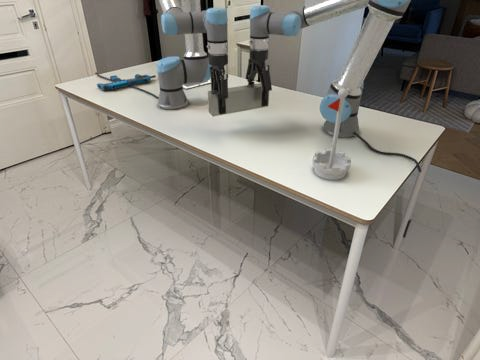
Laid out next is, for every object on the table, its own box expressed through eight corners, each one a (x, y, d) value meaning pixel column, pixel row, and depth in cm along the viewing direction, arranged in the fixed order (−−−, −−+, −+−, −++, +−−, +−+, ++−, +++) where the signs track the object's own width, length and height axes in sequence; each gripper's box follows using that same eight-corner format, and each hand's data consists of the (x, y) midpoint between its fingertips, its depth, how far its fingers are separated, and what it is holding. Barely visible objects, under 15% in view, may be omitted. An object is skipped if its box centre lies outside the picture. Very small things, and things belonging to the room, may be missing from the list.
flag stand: (334, 159, 128) (348, 80, 112) (356, 176, 118) (375, 92, 101) (304, 166, 124) (314, 84, 108) (324, 184, 114) (338, 97, 97)
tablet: (158, 77, 218) (158, 76, 218) (185, 71, 229) (185, 70, 229) (186, 89, 198) (186, 88, 197) (213, 82, 209) (213, 81, 208)
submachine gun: (141, 68, 224) (160, 74, 207) (142, 74, 226) (160, 81, 209) (89, 78, 206) (105, 86, 189) (91, 85, 207) (106, 93, 191)
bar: (263, 103, 152) (264, 82, 147) (268, 106, 148) (269, 85, 143) (208, 112, 143) (207, 91, 138) (213, 116, 139) (211, 94, 134)
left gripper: (200, 49, 135) (204, 105, 147) (217, 59, 121) (219, 120, 134) (218, 48, 137) (220, 103, 150) (236, 57, 124) (237, 117, 137)
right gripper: (237, 44, 143) (238, 93, 155) (265, 56, 125) (263, 111, 137) (253, 42, 146) (252, 91, 158) (282, 54, 128) (279, 108, 140)
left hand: (220, 111), depth 142 cm, fingers closed on bar, 5 cm apart
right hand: (257, 101), depth 147 cm, fingers open, 12 cm apart
